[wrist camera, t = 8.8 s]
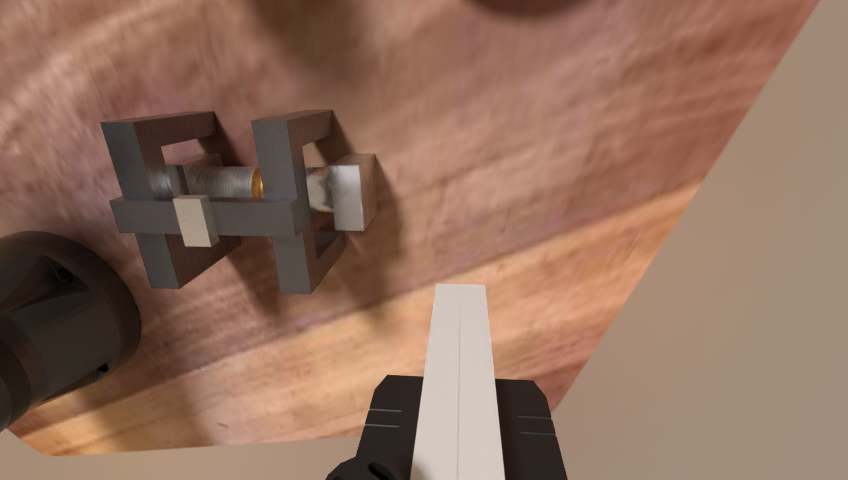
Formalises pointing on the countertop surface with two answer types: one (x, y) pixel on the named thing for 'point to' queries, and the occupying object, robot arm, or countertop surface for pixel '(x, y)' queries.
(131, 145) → the collar rail
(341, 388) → the countertop surface
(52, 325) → the robot arm
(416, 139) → the countertop surface
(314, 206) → the tube
